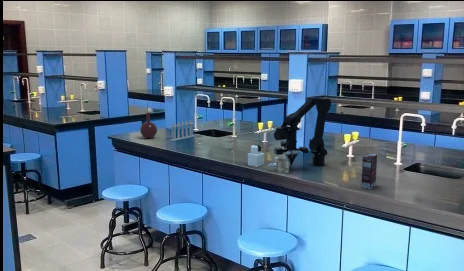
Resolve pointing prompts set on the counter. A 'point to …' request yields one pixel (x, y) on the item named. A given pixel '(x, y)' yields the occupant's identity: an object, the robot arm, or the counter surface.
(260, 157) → the medicine bottle
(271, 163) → the pin
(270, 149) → the counter surface
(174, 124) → the test tube rack
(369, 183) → the supplement box
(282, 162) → the block
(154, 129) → the round-bottom flask
